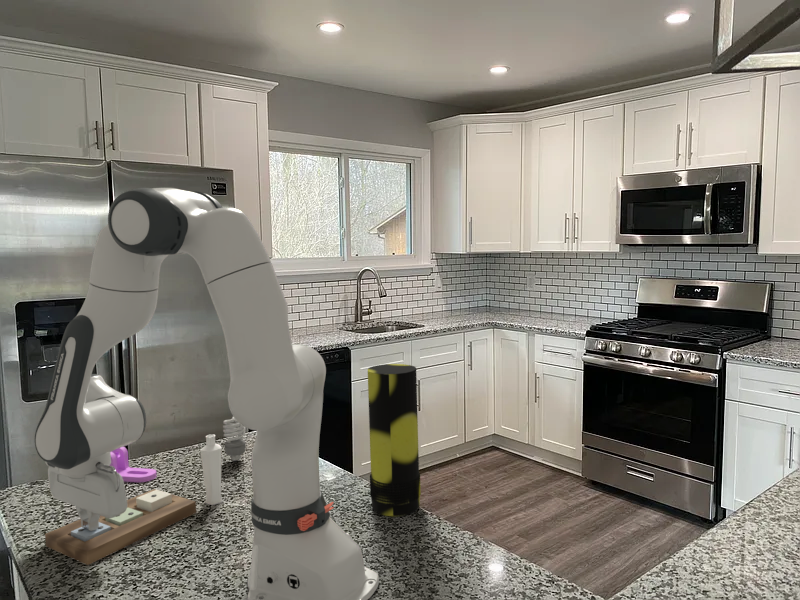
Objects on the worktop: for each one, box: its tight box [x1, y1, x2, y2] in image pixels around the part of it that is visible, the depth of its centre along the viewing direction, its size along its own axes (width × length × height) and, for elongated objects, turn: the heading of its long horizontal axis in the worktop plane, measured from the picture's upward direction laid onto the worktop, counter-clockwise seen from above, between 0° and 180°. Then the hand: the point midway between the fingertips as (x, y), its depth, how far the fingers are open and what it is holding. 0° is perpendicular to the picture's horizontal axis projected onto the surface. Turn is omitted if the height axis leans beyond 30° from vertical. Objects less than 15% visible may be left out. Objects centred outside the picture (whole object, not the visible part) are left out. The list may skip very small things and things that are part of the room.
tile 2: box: [105, 508, 143, 526], centre depth 121 cm, size 5×5×3 cm
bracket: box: [109, 446, 158, 483], centre depth 149 cm, size 13×6×7 cm, turn 77°
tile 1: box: [136, 489, 173, 512], centre depth 127 cm, size 5×5×3 cm
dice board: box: [44, 488, 197, 566], centre depth 121 cm, size 14×24×2 cm, turn 148°
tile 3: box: [71, 522, 111, 542], centre depth 115 cm, size 5×5×3 cm
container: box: [367, 363, 422, 517], centre depth 127 cm, size 11×11×30 cm
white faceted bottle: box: [199, 434, 224, 506], centre depth 133 cm, size 5×4×15 cm
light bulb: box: [222, 416, 246, 462], centre depth 158 cm, size 6×6×12 cm
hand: (90, 528), depth 115 cm, fingers closed, pressing on tile 3
